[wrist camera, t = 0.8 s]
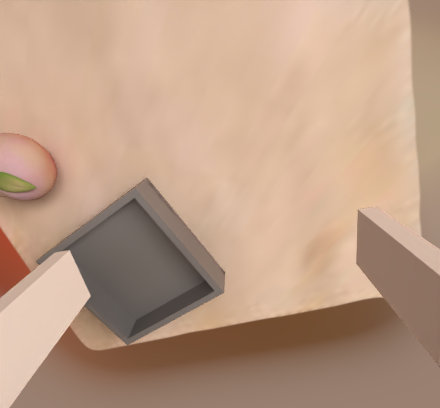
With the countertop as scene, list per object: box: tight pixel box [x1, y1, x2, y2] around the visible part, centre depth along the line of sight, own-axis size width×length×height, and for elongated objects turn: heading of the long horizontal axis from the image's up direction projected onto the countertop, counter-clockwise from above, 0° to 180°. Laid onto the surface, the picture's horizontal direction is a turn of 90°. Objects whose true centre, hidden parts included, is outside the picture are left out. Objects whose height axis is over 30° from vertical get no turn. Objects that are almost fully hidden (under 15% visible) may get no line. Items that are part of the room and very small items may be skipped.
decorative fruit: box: [0, 133, 57, 200], centre depth 32 cm, size 9×8×10 cm
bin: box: [36, 178, 225, 345], centre depth 39 cm, size 20×20×5 cm
